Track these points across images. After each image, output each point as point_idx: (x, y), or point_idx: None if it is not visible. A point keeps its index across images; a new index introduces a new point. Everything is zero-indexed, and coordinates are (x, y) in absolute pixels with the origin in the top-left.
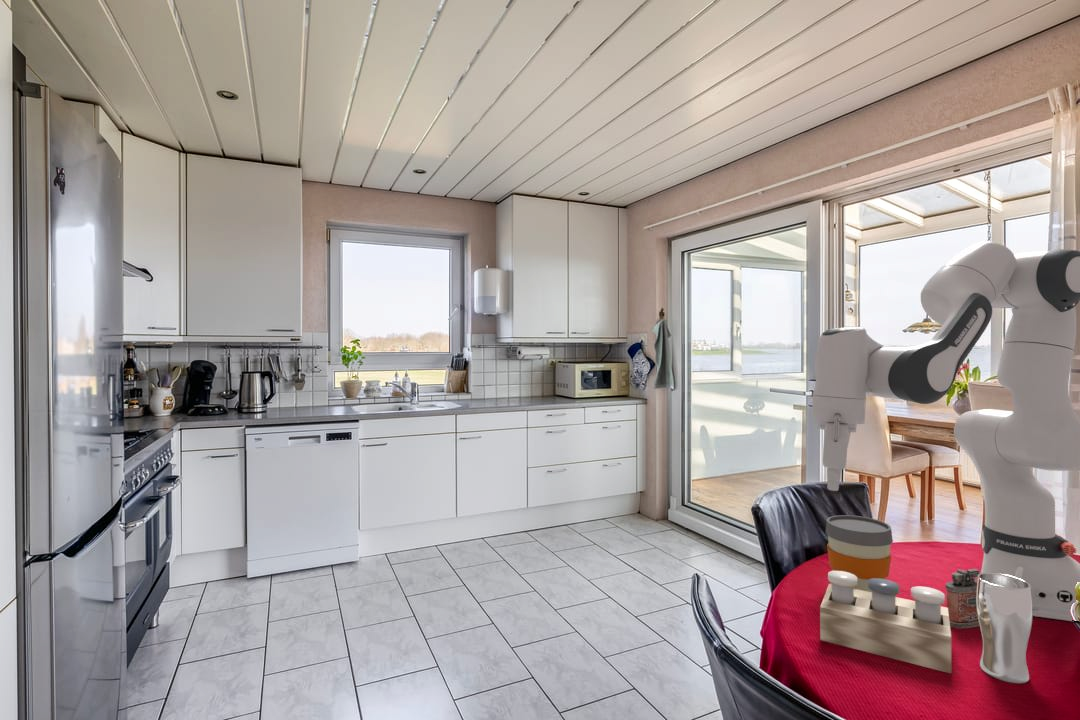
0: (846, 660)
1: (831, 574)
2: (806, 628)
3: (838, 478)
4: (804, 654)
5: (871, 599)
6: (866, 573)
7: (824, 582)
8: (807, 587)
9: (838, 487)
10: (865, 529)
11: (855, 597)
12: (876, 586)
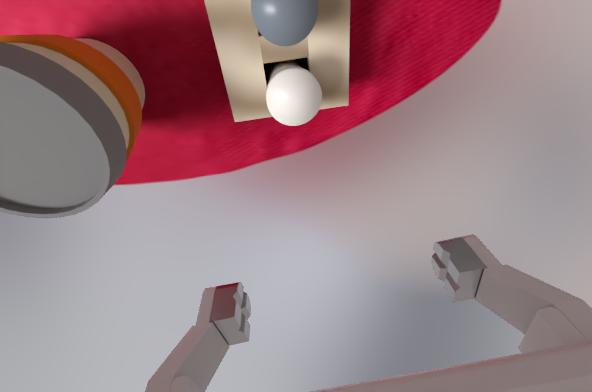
0: (375, 39)
1: (301, 118)
2: None
3: (530, 278)
4: (385, 92)
5: (255, 35)
6: (120, 76)
7: None
8: (163, 156)
9: (482, 243)
10: (20, 124)
11: (263, 66)
12: (314, 20)
